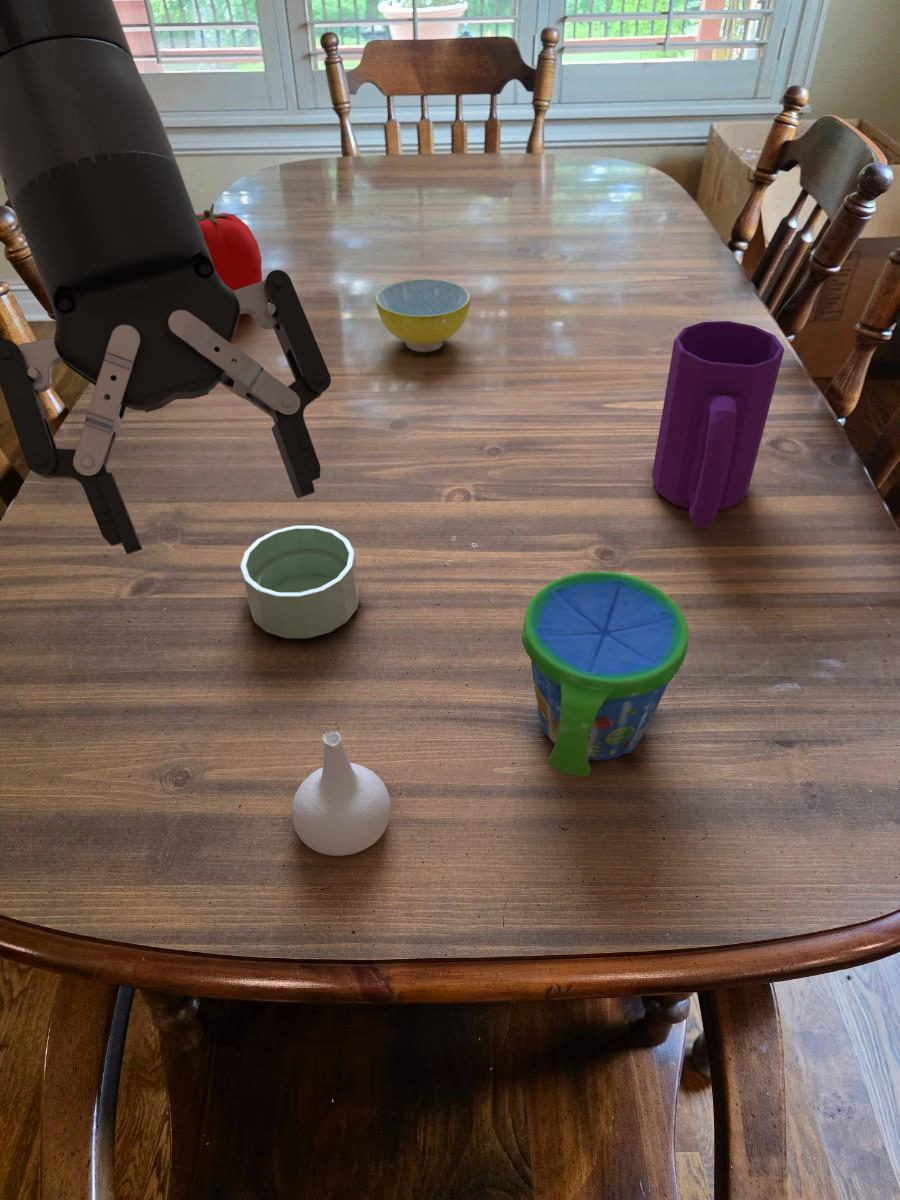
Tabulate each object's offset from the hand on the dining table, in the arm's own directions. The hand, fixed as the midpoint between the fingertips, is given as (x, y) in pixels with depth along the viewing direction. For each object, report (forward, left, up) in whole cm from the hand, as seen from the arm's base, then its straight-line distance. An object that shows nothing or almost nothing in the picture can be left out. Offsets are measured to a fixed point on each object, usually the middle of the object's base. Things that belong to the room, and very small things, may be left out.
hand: (223, 522), depth 42 cm
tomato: (+41, +71, -24) cm, 85 cm away
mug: (+48, +1, -24) cm, 53 cm away
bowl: (+53, +45, -24) cm, 73 cm away
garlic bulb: (+2, -3, -24) cm, 24 cm away
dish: (+13, +16, -24) cm, 31 cm away
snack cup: (+20, -9, -24) cm, 32 cm away
